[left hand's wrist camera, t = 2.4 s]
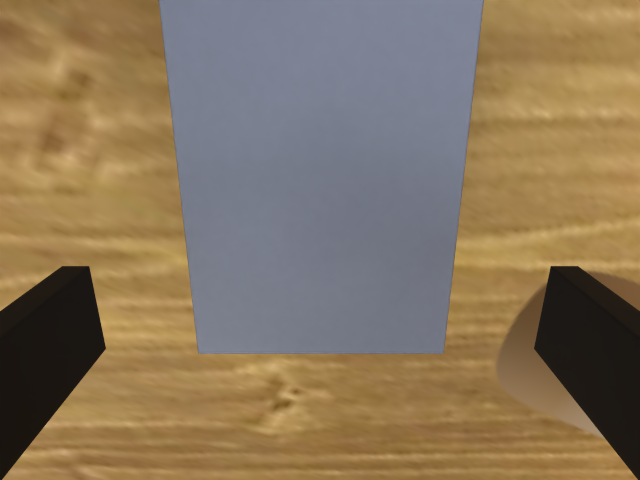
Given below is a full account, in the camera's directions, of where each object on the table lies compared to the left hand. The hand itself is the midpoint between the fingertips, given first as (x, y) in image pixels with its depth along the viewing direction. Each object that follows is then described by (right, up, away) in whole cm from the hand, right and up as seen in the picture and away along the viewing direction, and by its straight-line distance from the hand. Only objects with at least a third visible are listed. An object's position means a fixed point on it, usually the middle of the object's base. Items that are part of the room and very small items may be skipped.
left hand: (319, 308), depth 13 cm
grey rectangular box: (0, +11, +12) cm, 16 cm away
